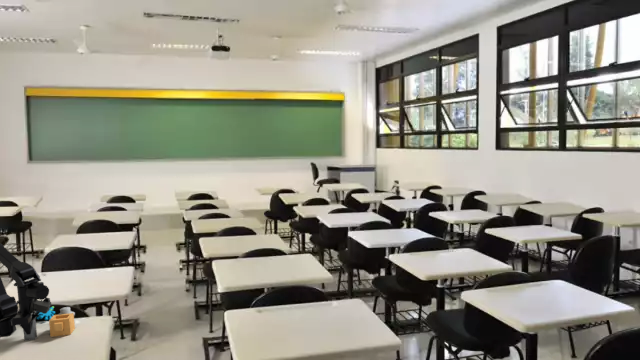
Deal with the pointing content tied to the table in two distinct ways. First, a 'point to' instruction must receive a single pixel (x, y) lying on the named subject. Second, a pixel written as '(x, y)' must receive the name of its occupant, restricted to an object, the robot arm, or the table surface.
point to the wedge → (33, 332)
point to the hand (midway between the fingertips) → (30, 332)
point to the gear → (47, 314)
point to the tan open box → (62, 323)
